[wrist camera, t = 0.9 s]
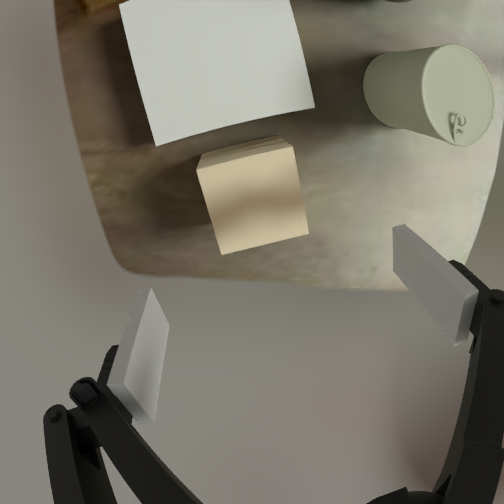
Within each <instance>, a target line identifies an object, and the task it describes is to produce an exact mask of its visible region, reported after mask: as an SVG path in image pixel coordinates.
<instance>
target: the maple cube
mask: <svg viewBox="0 0 504 504" xmlns="http://www.w3.org/2000/svg"><path fill="white" fill-rule="evenodd" d="M196 171H197V175H198V178H199V181H200V185H201V188H202V192H203V195H204V198H205V202H206V205H207V208H208V212H209V215H210V218H211V222H212V225H213V228H214V231H215V235H216V238H217V241H218V245H219V248H220V251H221V254H222V255H224V254H228V253H232V252H236V251H240V250H244V249H248V248H252V247H256V246H261V245H265V244H269V243H273V242H277V241H281V240H285V239H289V238H293V237H297V236H301V235H306V234H309V232H308V226H307V220H306V214H305V209H304V203H303V197H302V192H301V186H300V181H299V176H298V171H297V165H296V160H295V155H294V150H293V146H291V145H290V144H289V143H287V142H286V141H285V140H283V139H282V138H280V137H279V136H278V135H276V136H271V137H267V138H262V139H258V140H254V141H249V142H245V143H241V144H237V145H233V146H229V147H225V148H221V149H217V150H213V151H210V152H206V153H202V155H201V158H200V161H199V163H198V166H197V169H196Z"/></svg>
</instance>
